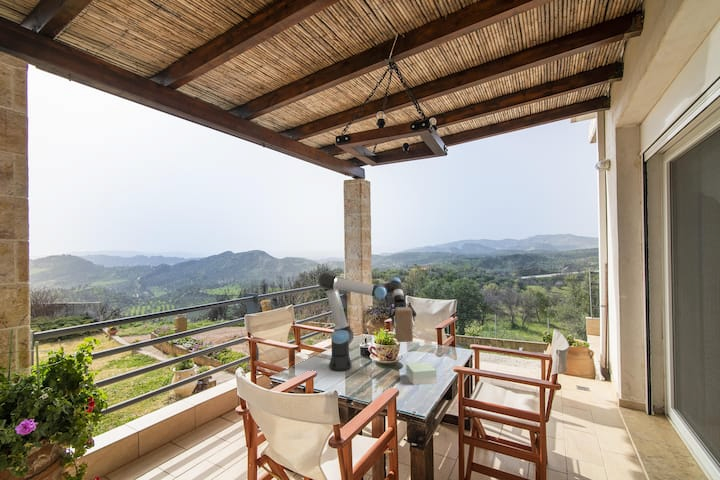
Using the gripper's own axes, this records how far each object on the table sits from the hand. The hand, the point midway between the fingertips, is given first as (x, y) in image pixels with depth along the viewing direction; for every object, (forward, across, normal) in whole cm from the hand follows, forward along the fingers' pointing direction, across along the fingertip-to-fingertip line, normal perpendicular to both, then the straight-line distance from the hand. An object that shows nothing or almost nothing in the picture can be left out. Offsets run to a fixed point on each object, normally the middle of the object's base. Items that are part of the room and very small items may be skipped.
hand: (404, 326), depth 203 cm
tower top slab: (+24, -8, -14) cm, 29 cm away
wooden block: (+5, 0, -8) cm, 10 cm away
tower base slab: (+27, -8, -17) cm, 33 cm away
